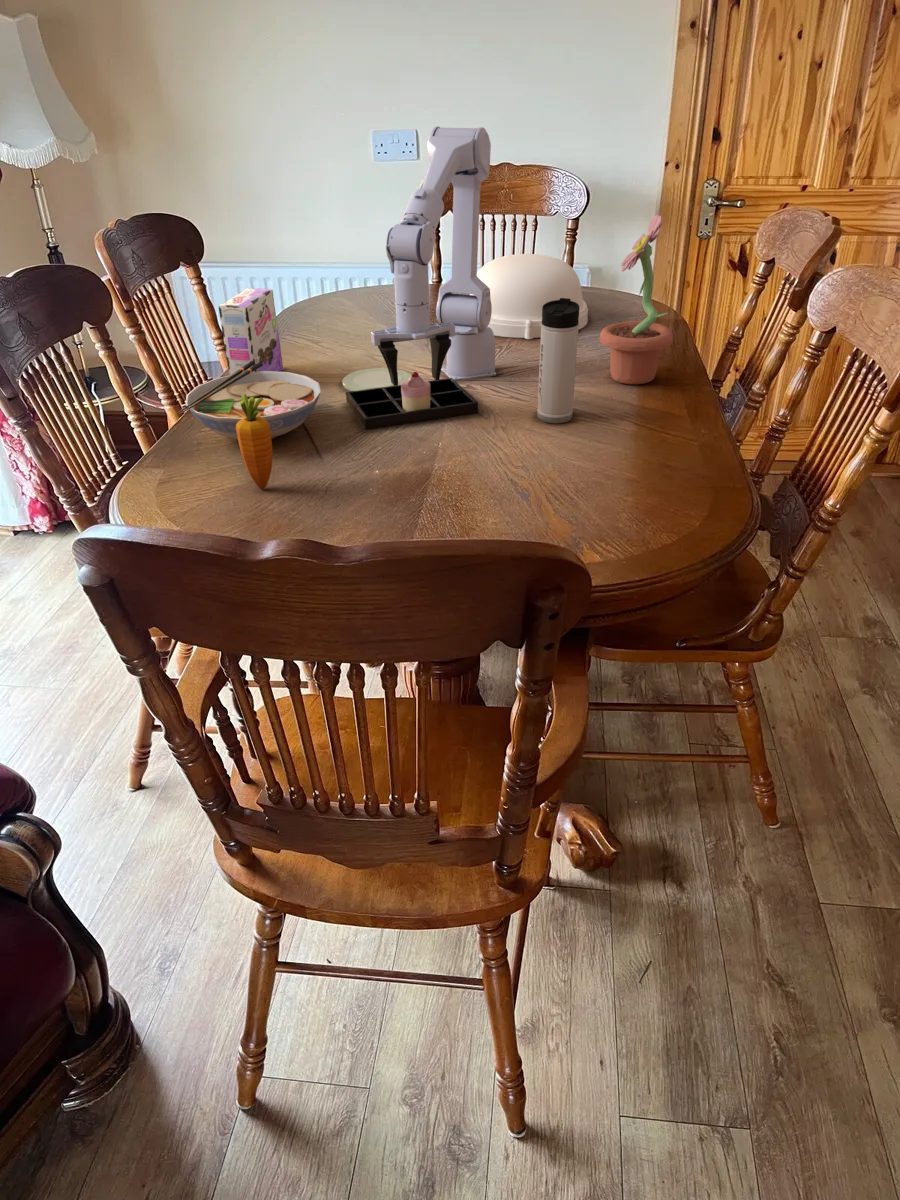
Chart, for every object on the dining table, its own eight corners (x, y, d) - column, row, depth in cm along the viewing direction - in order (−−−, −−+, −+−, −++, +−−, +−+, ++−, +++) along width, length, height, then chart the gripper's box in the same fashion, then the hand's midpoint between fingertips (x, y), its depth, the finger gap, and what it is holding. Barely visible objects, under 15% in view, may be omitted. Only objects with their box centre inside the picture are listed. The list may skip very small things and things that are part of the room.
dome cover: (595, 338, 189) (601, 273, 181) (462, 339, 189) (462, 274, 182) (579, 301, 215) (583, 242, 207) (463, 302, 216) (462, 244, 208)
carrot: (248, 483, 130) (232, 389, 122) (280, 481, 131) (266, 388, 122) (244, 497, 126) (227, 401, 118) (277, 495, 127) (263, 400, 118)
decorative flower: (598, 364, 174) (612, 206, 158) (667, 367, 172) (687, 208, 155) (594, 388, 162) (608, 221, 146) (667, 392, 160) (690, 223, 143)
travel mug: (575, 412, 152) (583, 299, 141) (568, 425, 147) (575, 309, 136) (542, 408, 154) (547, 296, 143) (533, 421, 149) (538, 306, 138)
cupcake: (425, 407, 155) (424, 365, 150) (434, 417, 151) (433, 374, 146) (398, 411, 153) (396, 369, 149) (407, 421, 149) (405, 378, 145)
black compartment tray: (346, 404, 158) (345, 392, 156) (452, 389, 163) (451, 377, 162) (365, 432, 146) (364, 419, 145) (478, 415, 152) (478, 402, 151)
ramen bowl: (281, 472, 133) (274, 423, 129) (161, 453, 140) (150, 406, 136) (350, 415, 153) (346, 371, 148) (242, 401, 160) (235, 359, 155)
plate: (401, 368, 174) (401, 364, 174) (422, 390, 163) (421, 385, 163) (335, 376, 170) (335, 372, 170) (352, 399, 159) (351, 395, 159)
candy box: (258, 392, 163) (246, 306, 154) (230, 391, 164) (216, 305, 155) (284, 369, 175) (273, 287, 165) (257, 368, 176) (245, 286, 166)
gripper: (376, 312, 136) (381, 393, 143) (461, 303, 140) (461, 382, 147) (365, 301, 141) (371, 380, 149) (447, 293, 145) (448, 370, 153)
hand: (415, 380), depth 148 cm, fingers open, 7 cm apart
